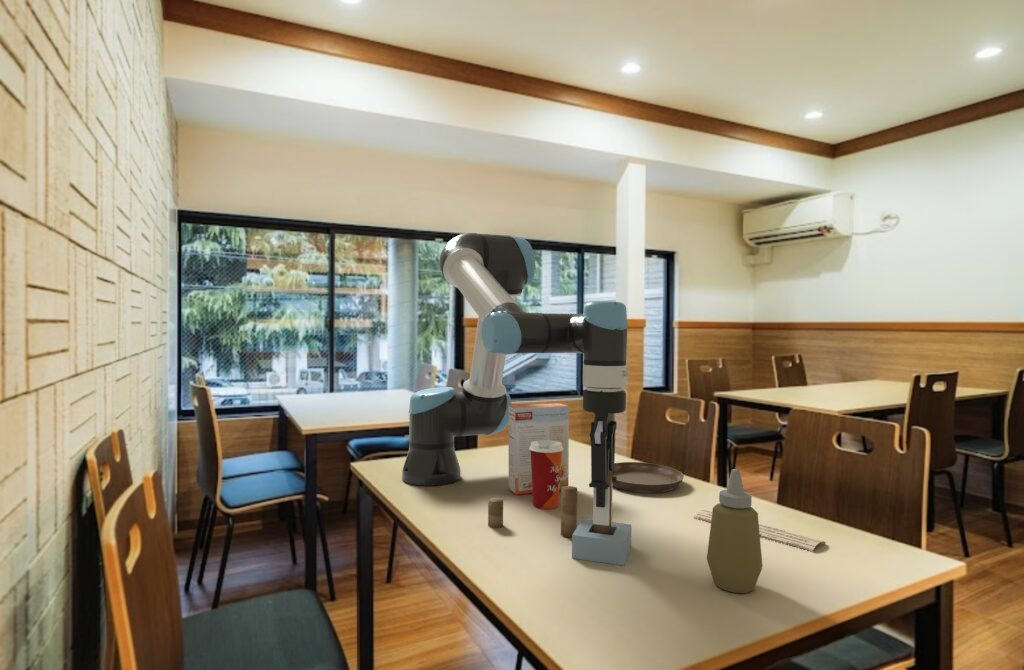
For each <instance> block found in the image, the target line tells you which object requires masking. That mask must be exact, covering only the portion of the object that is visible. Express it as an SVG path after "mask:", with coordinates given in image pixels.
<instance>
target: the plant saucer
mask: <svg viewBox="0 0 1024 670" xmlns="http://www.w3.org/2000/svg"><path fill="white" fill-rule="evenodd" d="M614 471H615V473H614V475H613V477H617V481H616V482H613V481H612V483H613V487H615V488H617V489H620V490H623V491H627V492H628V491H629V492H632V491H633V492H634V493H641V492H642V493H645V494H657V492H660V493H665V491H667V492H670V491H673V490H674V489H675V488H677V487H678V486H679V485H680V484H681V483H682V481H683V480H684V478H685V477H684V476H685V475H684V474H683V472H681V471H680V470H678V469H675V468H673V467H669V466H666V465H662V464H656V463H652V462H651V463H650V462H638V461H624V462H621V461H620V462H614ZM669 490H670V491H669Z"/></svg>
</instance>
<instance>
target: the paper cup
mask: <svg viewBox="0 0 1024 670" xmlns="http://www.w3.org/2000/svg"><path fill="white" fill-rule="evenodd" d="M529 449H530V450H531V471H532V493H531V494H532V503H533V507H535V508H537V509H541V510H553V509H556V508H558V506H559V500H560V498H559V497H560V491H559V489H560V474H561V459H562V451H563V450H564V449H563V447H562V444H561V442H558V441H552V440H537V441H533V442H532V443H531V446H530V448H529Z"/></svg>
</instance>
